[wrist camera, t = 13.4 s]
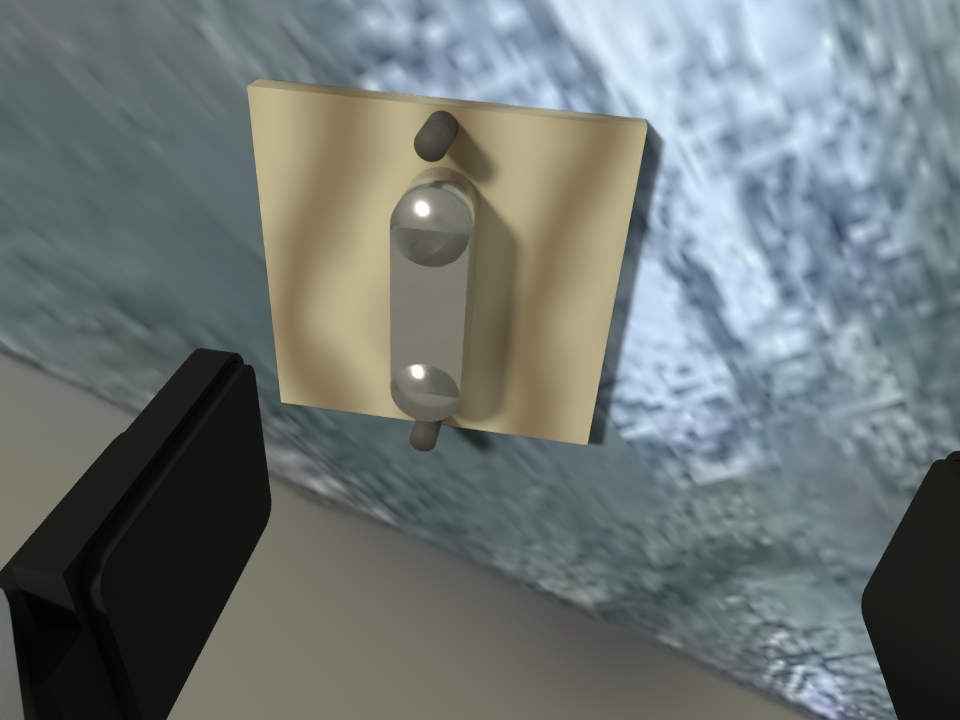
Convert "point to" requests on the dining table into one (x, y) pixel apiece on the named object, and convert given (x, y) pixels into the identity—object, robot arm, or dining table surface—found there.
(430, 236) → the grey capsule bar
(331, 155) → the board
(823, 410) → the dining table surface
